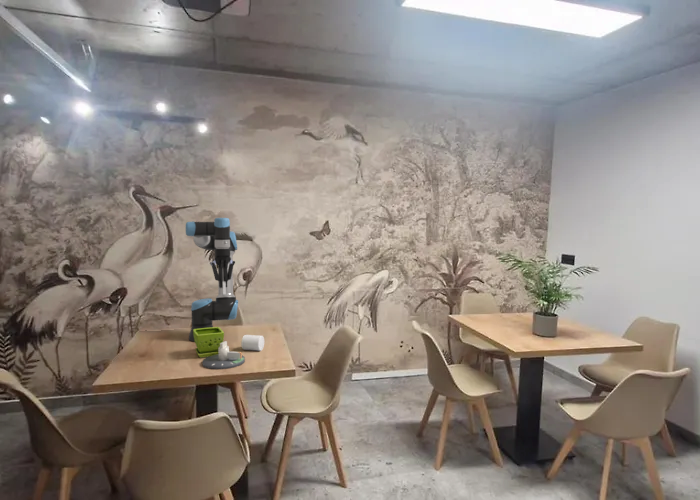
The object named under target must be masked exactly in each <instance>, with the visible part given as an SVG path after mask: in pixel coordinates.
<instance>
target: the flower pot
mask: <svg viewBox="0 0 700 500" xmlns="http://www.w3.org/2000/svg"><path fill="white" fill-rule="evenodd" d="M198 334H199V335H198ZM193 335H194V340H195V342H194V343H195V346H196V348H195V352H196V353H197V355H198V358H203V359H204V358H207V357H209V356H213V355H217V354H219V353H218V347H220V343H222V342H224V339H225V338H224V337H225V332H224V330H223V329H222V328H221V327H219V326H213V327H211V328H200V329H193Z"/></svg>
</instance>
